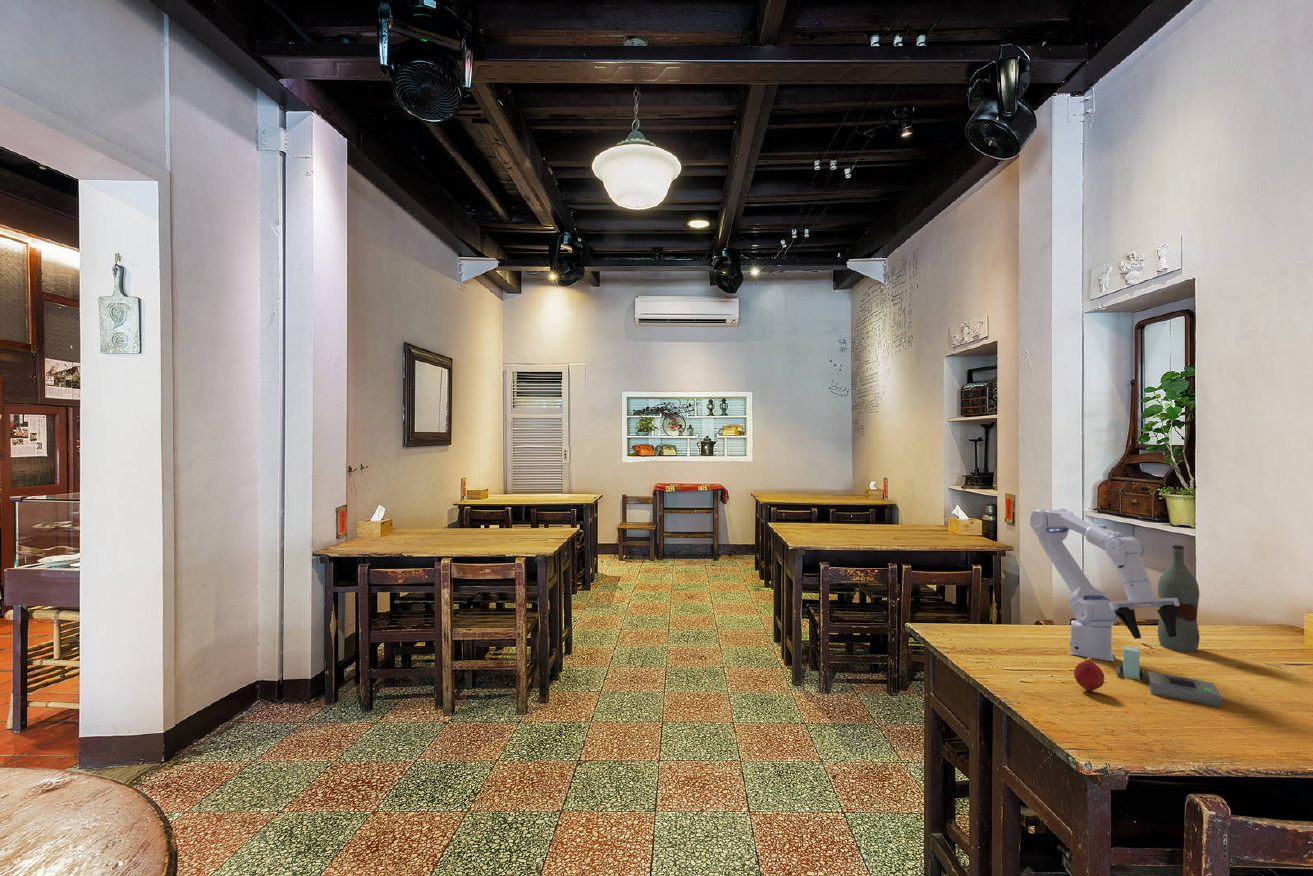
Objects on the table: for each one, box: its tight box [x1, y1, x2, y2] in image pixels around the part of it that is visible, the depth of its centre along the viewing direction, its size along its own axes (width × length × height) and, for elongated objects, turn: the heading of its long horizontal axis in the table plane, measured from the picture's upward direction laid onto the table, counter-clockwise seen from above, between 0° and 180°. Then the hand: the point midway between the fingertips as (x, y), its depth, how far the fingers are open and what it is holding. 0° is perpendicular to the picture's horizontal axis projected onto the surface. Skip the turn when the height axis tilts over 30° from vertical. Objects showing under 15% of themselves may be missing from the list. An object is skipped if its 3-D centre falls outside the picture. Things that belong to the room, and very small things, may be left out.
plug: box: [1122, 645, 1140, 680], centre depth 149 cm, size 3×3×7 cm
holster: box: [1116, 665, 1148, 684], centre depth 149 cm, size 6×6×1 cm
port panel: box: [1146, 671, 1222, 708], centre depth 138 cm, size 12×9×3 cm
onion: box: [1073, 657, 1105, 693], centre depth 139 cm, size 6×6×8 cm
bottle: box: [1157, 544, 1201, 653], centre depth 171 cm, size 9×9×30 cm
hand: (1155, 637), depth 147 cm, fingers open, 7 cm apart
